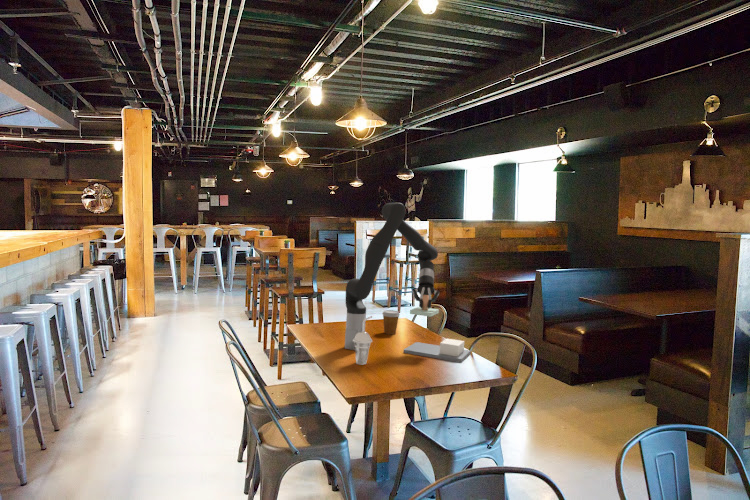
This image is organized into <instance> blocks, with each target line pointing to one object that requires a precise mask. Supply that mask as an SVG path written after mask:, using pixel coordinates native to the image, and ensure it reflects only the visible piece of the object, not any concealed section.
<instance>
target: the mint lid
mask: <svg viewBox="0 0 750 500" xmlns="http://www.w3.org/2000/svg"><path fill="white" fill-rule="evenodd" d="M422 300H423V301H422V308H421V307H419V306H417V307H415V308H412V309H410V311H409V314H410V315H415V316H416V315H417V316H423V317H433V316H435V315H438V314H440V309H438V308H432V307H431V308H429V309H428V301H429V295H423V299H422Z"/></svg>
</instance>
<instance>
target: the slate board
mask: <svg viewBox="0 0 750 500" xmlns="http://www.w3.org/2000/svg"><path fill="white" fill-rule="evenodd" d="M471 351H472V350H469V349H464V352H462V353H461V354H460V355H459V356H452V355H446V354H440V344H439V345H438V344H432V343H423V342H420V341H419V342H418V341H415V342H414V343H412V344H411V345H409V346H407V347H406V348H404V349H403V352H402V353H404V354H409V355H415V356H419V357H420V356H421V357H426V358H427V357H428V358H431V359H437V360H438V359H439V360H445V361H451V362H457V363H462V362H463V361H464V360H465V359H467V358H468V357H469V356H471V353H472V352H471Z"/></svg>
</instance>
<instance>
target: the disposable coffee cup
mask: <svg viewBox="0 0 750 500" xmlns="http://www.w3.org/2000/svg"><path fill="white" fill-rule="evenodd" d="M382 318H383V333H384V334H385V335H396V333H397V328H398V322H399V318H400V311H397V310H392V309H386V310H383V312H382Z"/></svg>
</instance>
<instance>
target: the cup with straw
mask: <svg viewBox="0 0 750 500" xmlns="http://www.w3.org/2000/svg"><path fill="white" fill-rule="evenodd" d="M372 318H373V316H372V315H371V316H369V317H366V319H364V320H363V327H362V331H361V332H358V333H357V334H356V336H355V338H353V342H354V345H355V350H354V353H355V364H356V365H362V366H363V365H367V361H368V358H369V350H370V346H371V343H373V339H372V338H371V336H370V334H369V332H367V331H365V332H364V322H365V323H366V321H368V320H370V319H372ZM365 320H366V321H365Z"/></svg>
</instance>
